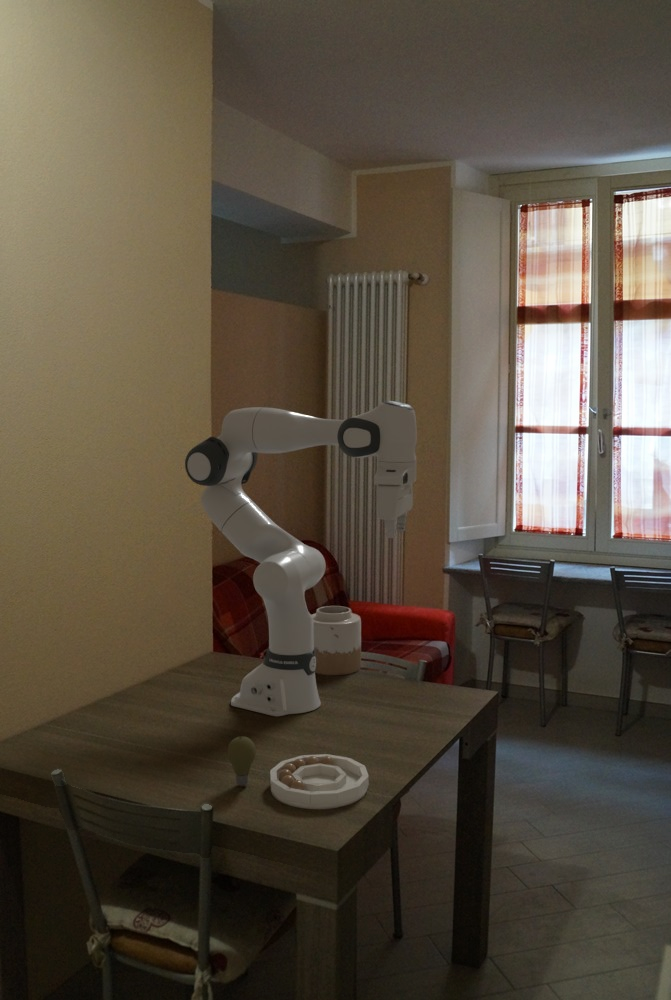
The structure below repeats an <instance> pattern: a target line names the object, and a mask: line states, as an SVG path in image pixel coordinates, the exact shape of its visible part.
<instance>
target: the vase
mask: <svg viewBox="0 0 671 1000" xmlns="http://www.w3.org/2000/svg"><path fill="white" fill-rule="evenodd" d="M311 615H312V617H313V620H314V648H315V651H316V671H315V674H318V675H323V676H346V675H350V674H354V673H356V672H358V671H360V670H361V667H362V619H361V616H360V615H358V614H356V613H353V612H352V608H350V607H347V606H341V605H329V606H328V605H326V606H321V607H318V608H316V612H315V613H313V614H311Z"/></svg>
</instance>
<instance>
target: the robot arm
mask: <svg viewBox="0 0 671 1000" xmlns="http://www.w3.org/2000/svg"><path fill="white" fill-rule="evenodd" d="M416 417H417V416H416V412H415V409H414V408H413V407H412V405H409V404H408V403H404V402H402V401H401V402H400V401H393V400H384V401H381V402H380V404H378V405H377V406H376V407H374V408H373V409H370V410H369V411H366V412H364V413H361V414H358V415H354V416H351V417H349V418H347V419H332V418H331V419H330V418H320V417H315V416H312V415H307V414H303V413H299V412H296V411H295V412H294V411H291V410H288V409H287V410H286V409H283V408H275V407H263V406H262V407H261V406H260V407H259V406H257V407H255V406H254V407H253V406H252V407H243V408H238V409H233V410H231V411H229V412H228V413H226V415H225V416H224V418H223V420H222V424H221V432H220V435H218V436H217V437H216V436H210V437H208V438H206V439H205V440H203V441H201V442H200V443H198V444H196V445H195V446H194V447H193V448H192V449H190V450H189V451H188V452H187V454H186V456H185V458H184V459H185V460H184V468H185V472H186V474H187V476H188V478H189V480H191V482H193V483H194V484H197V485H199V486H203V487H205V489H204V490H203V492H202V494H201V497H200V503H201V506H202V509H203V510H204V512H205V514H206V515H207V516H208V518H209V519H210V520H211V522H212V524H214V525H215V527H216V528H217V529H218V530H219V532H221V533H222V535H223V536H224V537H226V539H227V540H228V541H229V542H230V544H232V545H233V546H234V548H236V549H237V550H238V551H239V553H240V554H241V555H243V556H245V557H247V558H250V559H253V560H254V561H256V562H258V563H259V564H258V565H257V567H256V568H255V570H254V573H253V576H252V581H253V582H252V583H253V587H254V589H255V591H256V592H257V594H258V595H259V596H260V597H261V598H262V600H263V604H264V606H265V610H266V613H267V614H266V615H267V618H268V619H267V620H268V637H269V638H268V648H266V649H265V650H263V652H261V653H259V655H260V656H259V658H260V659H262V658H263V661H262V663H261V664H259V665H258V666H257V667H255V668H254V669H252V671H250V672H249V673H247V675H245V676H244V677H243V679H242V681H241V684H240V690H239V692H237V693H236V694H234V695H233V697H232V698H231V701H230V705H231V706H232V707H235V708H240V709H244V710H248V711H252V712H256V713H260V714H265V715H268V716H272V717H282V716H286V715H294V714H303V713H307V712H311V711H315V710H317V709H318V708H320V707H321V705H322V703H321V700H320V695H319V691H318V686H317V679H316V673H315V671H316V651H315V648H314V620H313V617H312V614H311V613H310V611H309V610H308V607H307V603H306V602H307V601H306V597H305V592H306V591H307V590H310V589H311V588H313V587H315V586H316V585H317V584H318V583H319V582H320V580H321V579H322V578H323V577H324V575H325V572H326V567H327V565H326V560H325V557H324V555H323V554H322V553H321V552H320V550H318V549H316V548H315V547H313V546H309V545H307V544H306V543H305V544H304V543H303V542H302V541H301V540H300V539H297V538H296V537H295V536H293V535H292V534H290V533H289V532H287V531H286V530H285V529H283V528H282V527H280V526H279V525H278V524H276V522H275V521H273V520H272V519H271V518H270V517H269V516H268V515H267V514H266V513H265V512H264V511H263V510H262V509H261V507H259V506H258V505H257V504H256V503H255V502H254V501H253V500H252V499H251V498H250V497H249V496H248V494H247V493H246V492H245V491H244V490H243V486H242V485H244V484H246V483H248V482H249V480H250V476H251V474H252V472H253V471H254V469H255V467H256V466H257V463H258V457H259V455H258V454H282V453H289V452H290V453H291V452H294V451H299V450H304V449H307V448H312V447H318V446H339V448H340V450H341V451H342V453H344V454H345V455H346V456H348V457H351V458H354V459H363V458H371V457H376V459H377V463H376V467H377V468H376V473H375V474H374V476H373V484H374V486H375V485H377V486H376V508H377V509H376V510H377V515H378V519H379V520H384V524H385V528H386V530H385V531H386V538H388V539H394V538H395V537H396V536H397V532H398V533H402V532H404V531H406V522H407V517H408V513H409V511H411V510H412V509H413V507H414V506H413V504H414V494H413V493H414V492H413V491H414V489H413V487H414V486H413V483H415V482H417V463H418V462H417V461H418V460H417V455H416V446H417V443H418V428H417V418H416Z"/></svg>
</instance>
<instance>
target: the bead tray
mask: <svg viewBox="0 0 671 1000" xmlns="http://www.w3.org/2000/svg"><path fill="white" fill-rule="evenodd" d="M269 777H270V778H269V780H270V792H271V795H272V796H273V797H274V798H275V799H276V800H277V801H279V802H281V803H282V804H285V805H287V806H290V807H295V808H300V809H304V810H305V809H307V810H308V809H309V810H330V809H337V808H341V807H342V808H343V807H345V806H349V805H352V804H353V803H356V802H358V801H359V800H361V799H362V798H363V797H364V796H365V795H366V794H367V792H368V787H369V785H370V783H369V781H370V780H369V779H370V778H369V777H370V776H369V773H368V771H367V768H366V765H364V764H362V763H360V762H359V761H357V760H355V759H353V758H350V757H346V756H342V755H333V754H329V753H328V754H327V753H324V754H304V755H298V756H295V757H292V758H288V759H285V760H284V759H283V760H281V761H280V762H279V763H278V764H276V765H275V766H274V767H273V768H271V769H270V770H269Z"/></svg>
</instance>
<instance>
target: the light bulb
mask: <svg viewBox="0 0 671 1000" xmlns="http://www.w3.org/2000/svg"><path fill="white" fill-rule="evenodd" d="M227 746H228V747H227V757H228V760H229V762H230V764H231V765H232V768H233V772H234V774H235V777H236V778H235V779H236V780H235V781H236V782H235V784H237V785H238V786H240V787H245V786H246V785H247V784H248V783H249V775H250V771H251V766H252V764H253V762H254V759H255V757H256V753H257V749H256V745H255V743H254V741H253V740H252V739H251V738H249V737H247V736H237V737H235V738H234V739H232V740H231V741H230V742H229V744H228V745H227Z"/></svg>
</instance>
